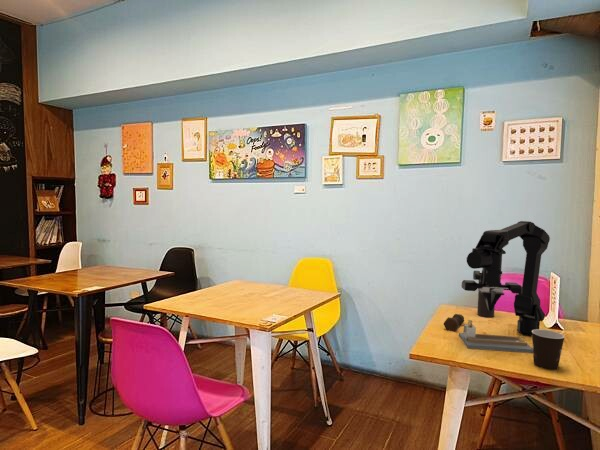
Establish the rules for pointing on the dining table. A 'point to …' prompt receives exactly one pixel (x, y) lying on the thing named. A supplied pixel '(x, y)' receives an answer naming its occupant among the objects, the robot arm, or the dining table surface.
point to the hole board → (496, 343)
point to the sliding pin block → (469, 330)
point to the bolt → (454, 322)
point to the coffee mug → (547, 348)
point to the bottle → (484, 306)
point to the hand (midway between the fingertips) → (489, 310)
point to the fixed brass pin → (521, 339)
